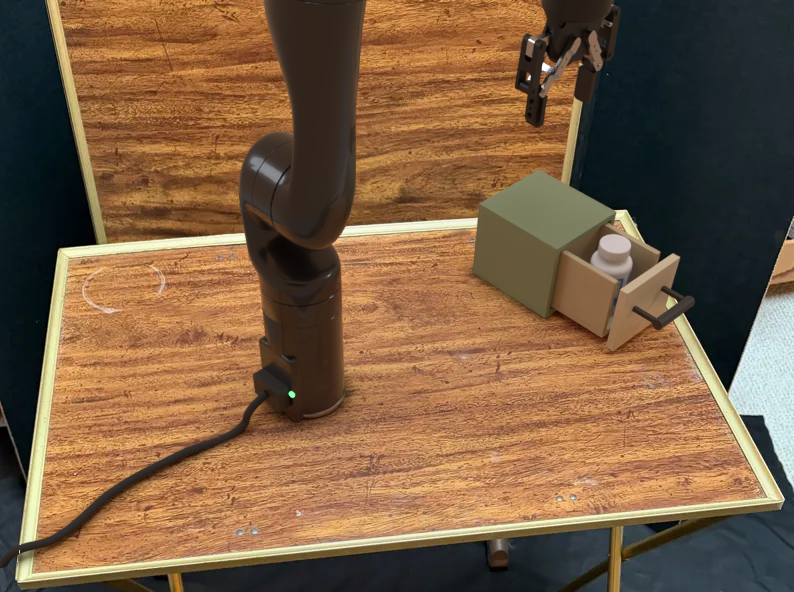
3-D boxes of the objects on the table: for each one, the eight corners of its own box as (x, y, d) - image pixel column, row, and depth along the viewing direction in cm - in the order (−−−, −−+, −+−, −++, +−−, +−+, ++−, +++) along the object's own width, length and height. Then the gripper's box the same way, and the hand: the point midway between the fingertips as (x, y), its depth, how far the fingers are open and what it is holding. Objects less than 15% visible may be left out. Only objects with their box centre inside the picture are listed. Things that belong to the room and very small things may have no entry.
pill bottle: (599, 286, 133) (613, 224, 125) (630, 305, 131) (646, 243, 123) (573, 303, 131) (585, 242, 123) (604, 323, 128) (619, 261, 121)
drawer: (692, 332, 129) (711, 274, 122) (642, 370, 125) (658, 312, 117) (591, 272, 137) (603, 214, 129) (540, 306, 132) (550, 248, 125)
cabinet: (601, 280, 137) (616, 211, 128) (544, 318, 132) (557, 249, 123) (528, 237, 143) (539, 169, 134) (472, 272, 138) (479, 203, 129)
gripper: (599, -66, 106) (573, 80, 119) (510, -32, 100) (493, 119, 113) (654, -44, 103) (621, 104, 116) (565, -7, 97) (541, 146, 109)
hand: (558, 112), depth 114 cm, fingers open, 8 cm apart
